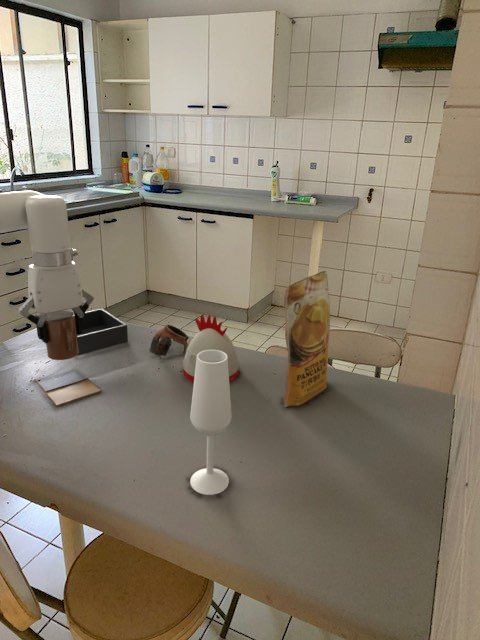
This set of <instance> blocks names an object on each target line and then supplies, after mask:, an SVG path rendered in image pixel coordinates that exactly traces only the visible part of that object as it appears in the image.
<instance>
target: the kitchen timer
mask: <svg viewBox="0 0 480 640" xmlns="http://www.w3.org/2000/svg"><path fill="white" fill-rule="evenodd" d="M211 318H212V317H211V315H210V314H208V316H207V319H206V320H205V316H204V314H201V315H200V320H199V318H198V317H196V318H195V319H194V321H195V323H196V327H197V328H198V332H197V333H196V334H195V335H194V336H193V337H192V338H191V339H190V340H189V344H188V345H187V349H186V352H185V353H184V358H183V362H182V374H183V376H184V377H185V379H186V380H187V381H189V382H191V383H194V377H195V368H196V359H197V354H198V353H200V352H202V351H205V350H219V351H222V352H224V353H226V354H227V357H228V372H229V383H231V382H232V381H234V380H236V378H237V377H238V376H239V372H240V371H239V368H240V365H239V364H240V363H239V358H238V355H237V351H236V348H235V347H234V344H233V342H232V340H231V339H230V337H229V336H228V335H227V334H226V332H227V330H228V326H226V327H225V328H224V329H223V330H222V324H223V321H222V320H221V321H220V322H219V323H218V321H217V316H216V315H214V316H213V318H212V319H211Z"/></svg>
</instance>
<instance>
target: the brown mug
mask: <svg viewBox="0 0 480 640" xmlns="http://www.w3.org/2000/svg"><path fill="white" fill-rule="evenodd" d="M44 324H45V325H46V326H47V332H48V340H49V342H48V343H45V346H46V356H47V357H48V358H49V359H50V360H53V361H66V360H71V359H74V358H76V357H77V356H79V355H78V353H79V347H78V337H77V327H76V318H75V314H74V312H73V311H69V310H63V311H58V312H53V313H48V314H47V317H46V319H45V322H44Z"/></svg>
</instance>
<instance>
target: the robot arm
mask: <svg viewBox="0 0 480 640" xmlns="http://www.w3.org/2000/svg"><path fill="white" fill-rule="evenodd" d="M19 230H28V236H29V245H30V251H31V258H32V264H29V265H28V271H27V285H28V286H27V289H28V291H27V293H28V298H27V299H26V300H25V301H24V302H23V304H22V305H21V306H20V307H18V309H17V312H18V314H19V315H20V316H22V317H24V318H26V319H27V320H28V321H30V322H31V323H33V324H34V325H35V326H36V334H37V337H38V339H39V340H41V341H42V342H43V343H44V344H46V343H48V342H49V340H48V332H47V326H46V325H45V324H44V322H45V319H46V317H47V314H48V313H53V312H58V311H69V310H71V312H73V313H74V314H75V318H76V327H77V334H78V335H82V330H81V329H83V323H82V317H83V316H84V313H85V312H87V311H88V309H89V307H90V306H91V304H92V303H93V301H94V300H95V297H94V296H93V295H91V294H90V293H88V292H86V291H85V290H84V289H82V283H81V279H80V275H79V271H78V267H77V265H76V262H75V261H74V257H75V256H78V254H79V253H78V250H77V249H76V248H74V249H73V248H72V247H71V239H70V228H69V218H68V209H67V203H66V200H65V199H64V198H63V197H61V196H58V195H52V194H43V193H41V192H39V191H34V190H19V191H7V192H0V234H3V233H9V232H15V231H19ZM30 309H33V310H35V314H32V313H31V312H29V311H30Z"/></svg>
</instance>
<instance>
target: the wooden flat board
mask: <svg viewBox="0 0 480 640" xmlns="http://www.w3.org/2000/svg"><path fill="white" fill-rule="evenodd" d="M33 381H34V382H35V384H36V385H37V386H38V387H39V389H41V391H43V393H44V394H45V395H46V397H48V399H49V400H50V401H51V402H52V403H53V405H55V407H56V408H58V407H62V406H64V405H67V404H70V403H73V402H77V401H79V400H83V399H85V398H88V397H91V396H95V395H98V394H100V393H102V391H101V389H100V388H99V387H97V385H95V383H93V382H92V381H91V380H90V379H89V378H84V379H81V380H78V381H74V382H71V383H68V384H65V385H61V386H58V387H54V388H51V389H49V390H45V388H43V386H42V385H41V384H39V382H38V381H37V380H36V379H35V378H34V379H33Z"/></svg>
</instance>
